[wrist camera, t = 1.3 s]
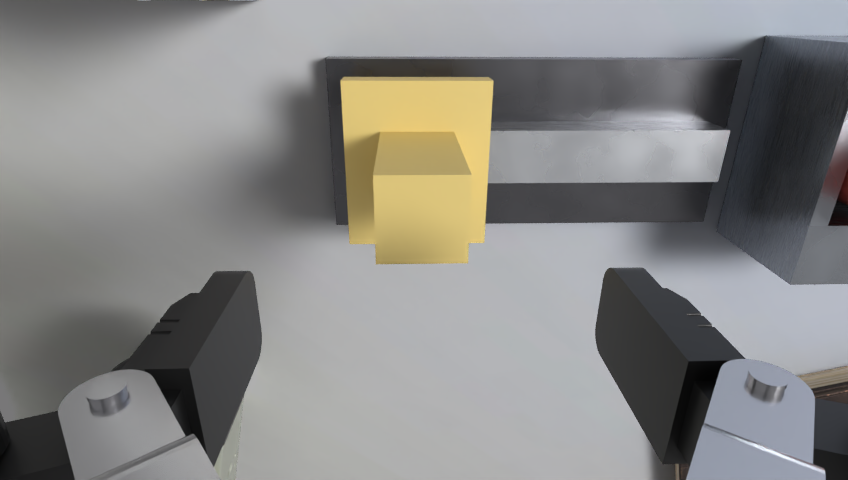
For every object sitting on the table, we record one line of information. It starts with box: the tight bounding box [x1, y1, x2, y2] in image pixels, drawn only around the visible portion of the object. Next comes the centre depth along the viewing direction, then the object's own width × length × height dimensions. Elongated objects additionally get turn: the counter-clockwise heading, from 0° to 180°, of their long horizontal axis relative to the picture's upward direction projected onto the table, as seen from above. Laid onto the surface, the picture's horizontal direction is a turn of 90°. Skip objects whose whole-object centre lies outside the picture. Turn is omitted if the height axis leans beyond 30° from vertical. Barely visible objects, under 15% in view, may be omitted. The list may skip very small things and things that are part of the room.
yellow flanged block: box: [340, 77, 493, 264], centre depth 21 cm, size 7×6×9 cm
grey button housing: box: [717, 36, 848, 285], centre depth 24 cm, size 10×6×6 cm, turn 0°
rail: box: [326, 57, 742, 225], centre depth 25 cm, size 8×19×3 cm, turn 90°
